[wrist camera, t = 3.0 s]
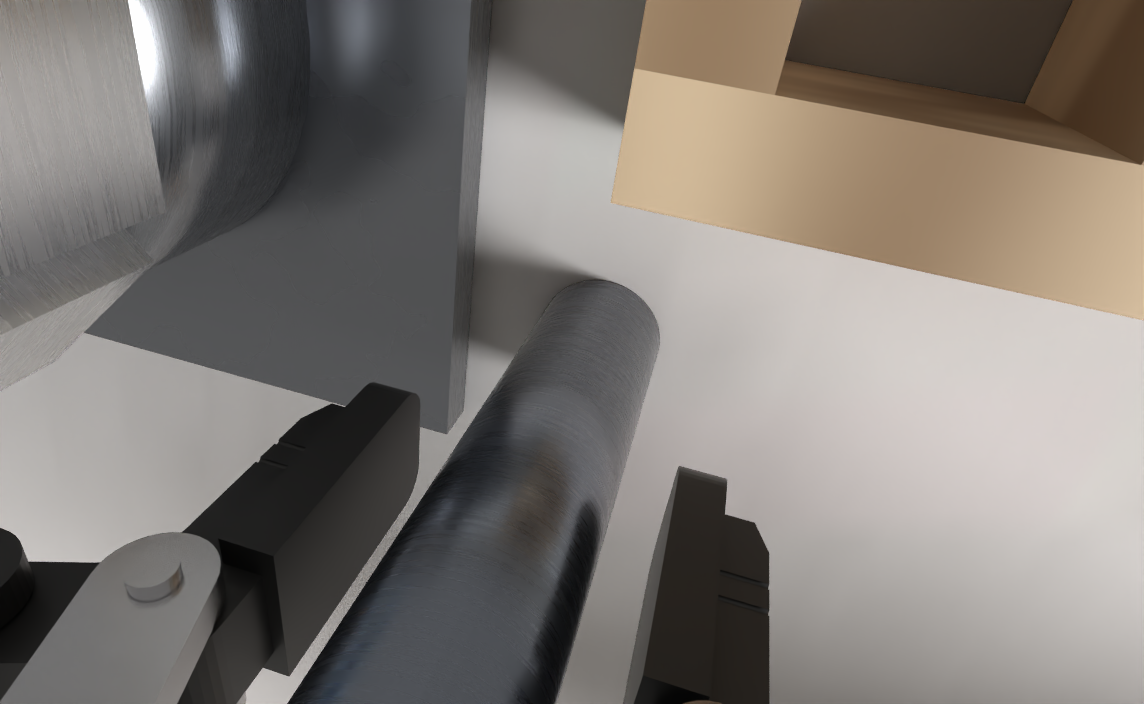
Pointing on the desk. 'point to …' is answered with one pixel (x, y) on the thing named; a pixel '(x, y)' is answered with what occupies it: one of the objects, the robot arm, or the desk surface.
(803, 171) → the holder
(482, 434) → the dark grey cylinder
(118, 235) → the grey cube ring
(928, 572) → the desk surface
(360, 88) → the chuck base
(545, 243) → the desk surface
